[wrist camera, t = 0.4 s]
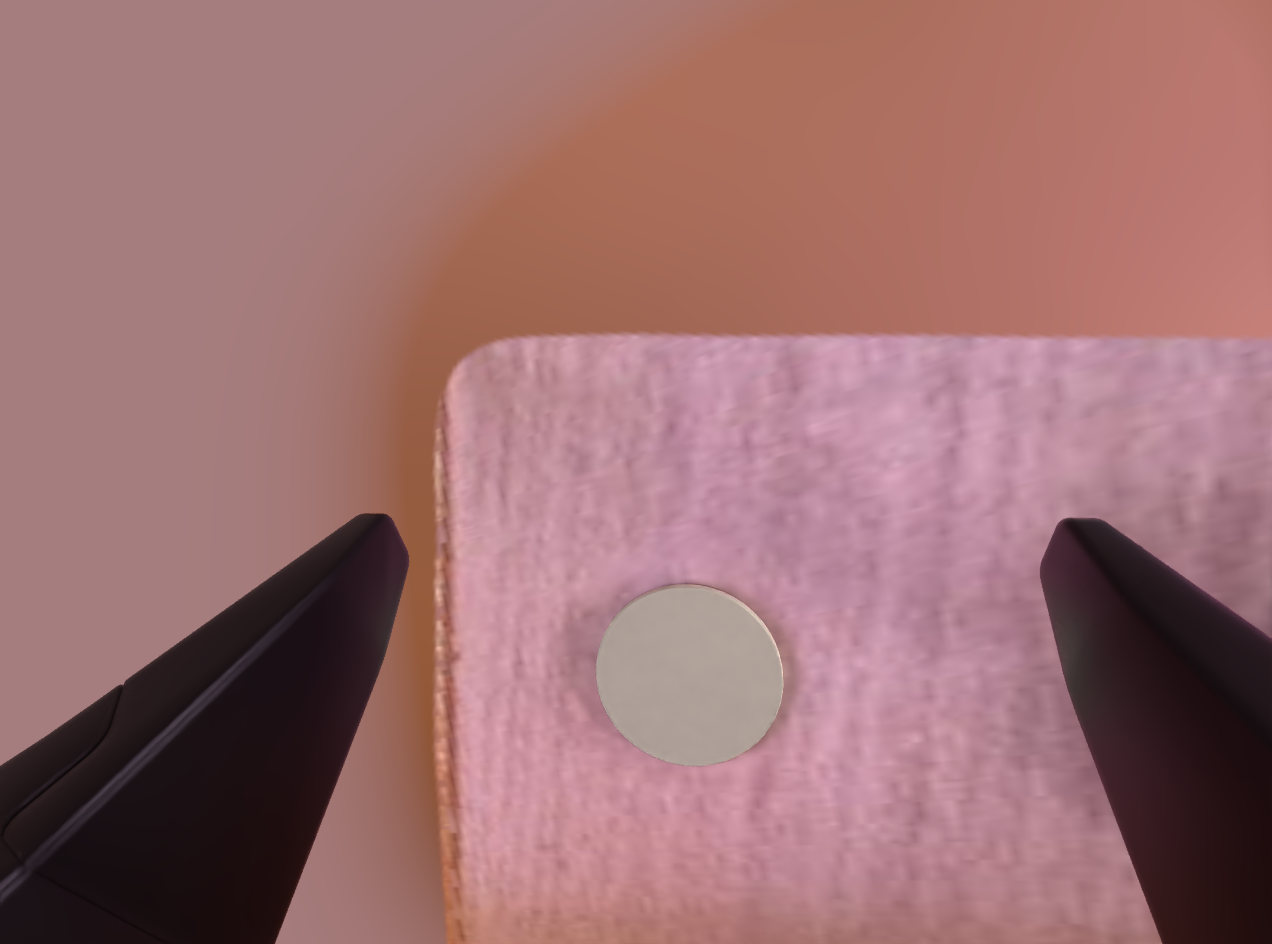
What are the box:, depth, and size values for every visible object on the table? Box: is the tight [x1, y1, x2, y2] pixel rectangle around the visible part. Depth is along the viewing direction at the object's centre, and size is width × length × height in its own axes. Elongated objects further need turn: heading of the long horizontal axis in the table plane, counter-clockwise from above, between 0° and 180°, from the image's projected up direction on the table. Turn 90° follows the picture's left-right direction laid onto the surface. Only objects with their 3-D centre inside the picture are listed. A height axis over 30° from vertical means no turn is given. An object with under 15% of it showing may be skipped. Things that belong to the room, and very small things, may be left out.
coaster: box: [596, 584, 783, 766], centre depth 25 cm, size 7×7×1 cm
